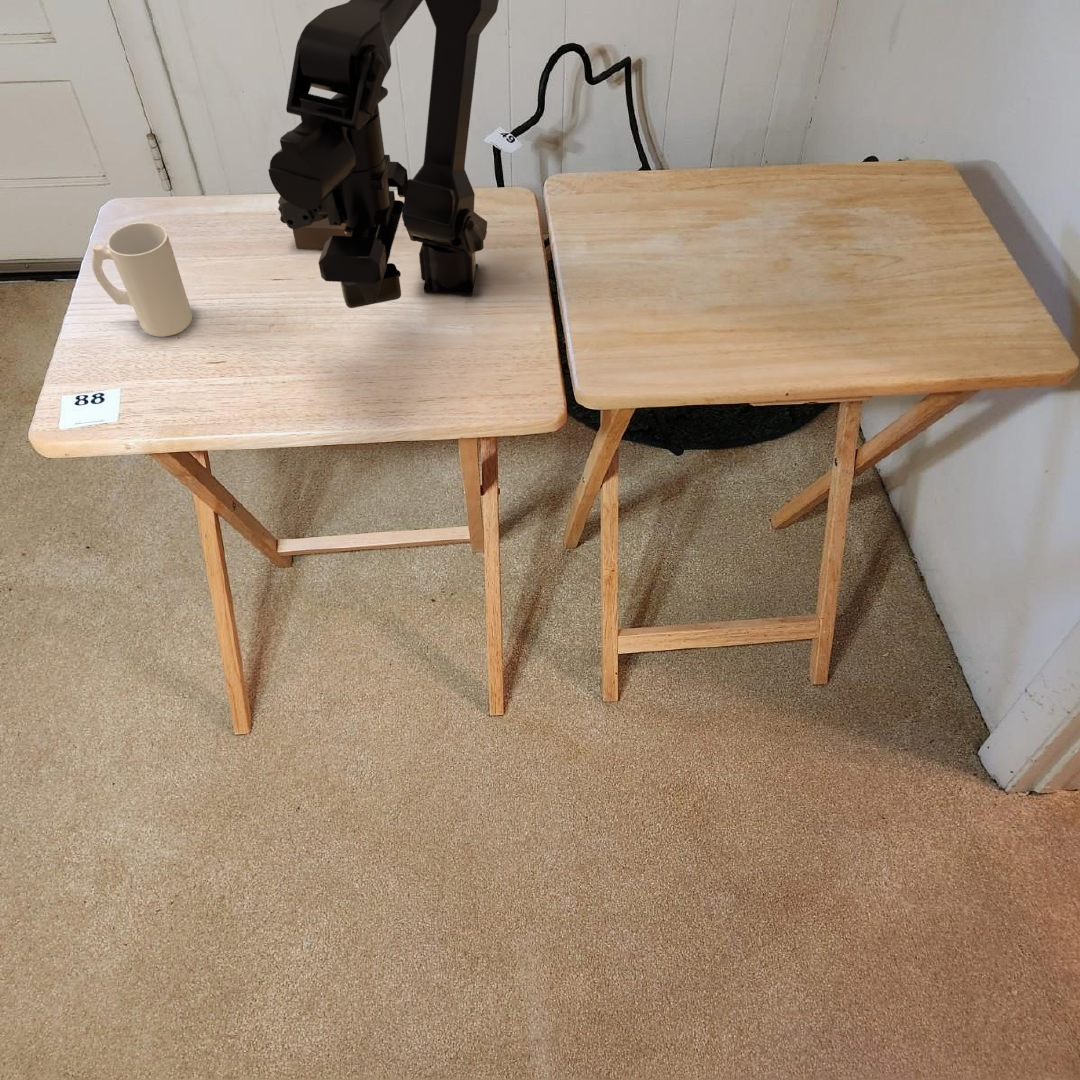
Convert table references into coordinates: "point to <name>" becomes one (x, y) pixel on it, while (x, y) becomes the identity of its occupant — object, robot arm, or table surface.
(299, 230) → the walnut block
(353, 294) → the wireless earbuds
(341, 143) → the robot arm
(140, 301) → the mug
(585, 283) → the table surface
